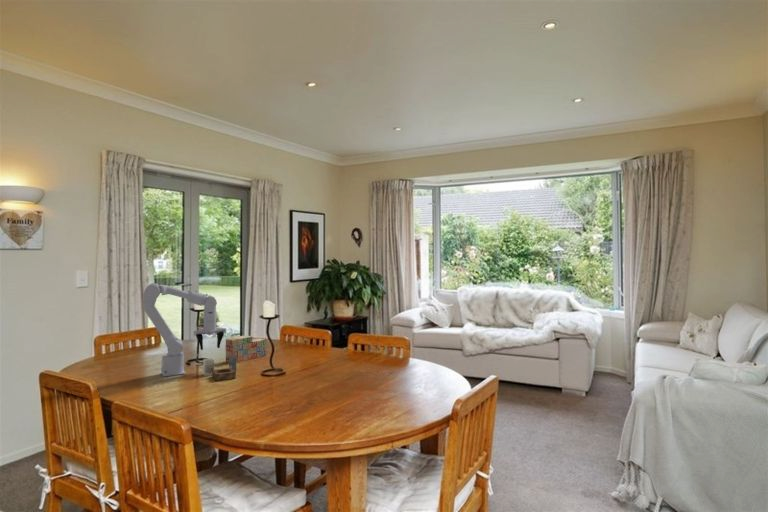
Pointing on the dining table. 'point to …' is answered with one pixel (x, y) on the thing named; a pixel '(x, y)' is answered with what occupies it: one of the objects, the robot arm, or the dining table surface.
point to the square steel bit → (208, 366)
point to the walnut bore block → (223, 374)
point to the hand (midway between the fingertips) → (210, 348)
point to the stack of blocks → (245, 348)
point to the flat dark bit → (232, 362)
